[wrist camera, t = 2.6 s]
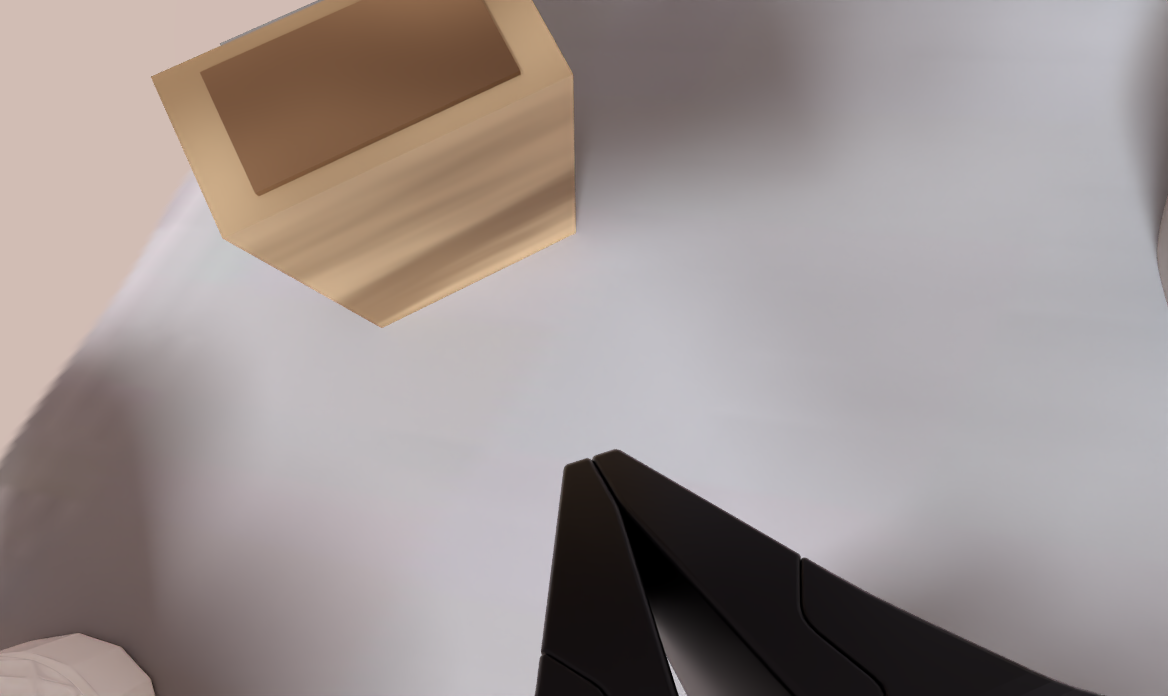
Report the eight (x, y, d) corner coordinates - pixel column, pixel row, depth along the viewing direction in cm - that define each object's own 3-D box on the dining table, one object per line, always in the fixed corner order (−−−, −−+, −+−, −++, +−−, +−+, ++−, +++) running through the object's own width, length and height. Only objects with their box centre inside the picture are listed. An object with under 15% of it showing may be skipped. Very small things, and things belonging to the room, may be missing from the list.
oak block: (575, 233, 23) (573, 70, 13) (382, 328, 22) (218, 236, 12) (528, 144, 23) (490, -80, 13) (337, 235, 23) (145, 72, 13)
